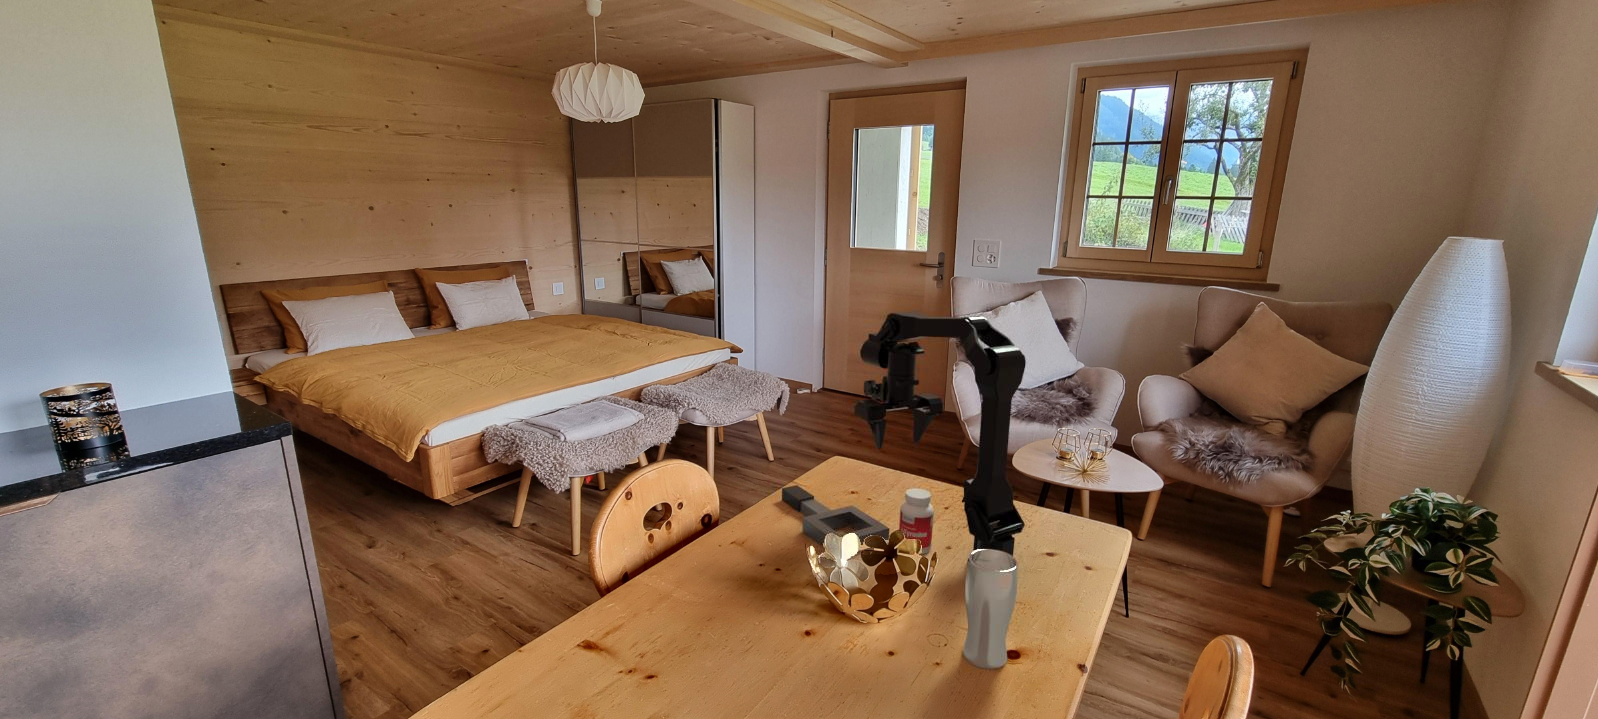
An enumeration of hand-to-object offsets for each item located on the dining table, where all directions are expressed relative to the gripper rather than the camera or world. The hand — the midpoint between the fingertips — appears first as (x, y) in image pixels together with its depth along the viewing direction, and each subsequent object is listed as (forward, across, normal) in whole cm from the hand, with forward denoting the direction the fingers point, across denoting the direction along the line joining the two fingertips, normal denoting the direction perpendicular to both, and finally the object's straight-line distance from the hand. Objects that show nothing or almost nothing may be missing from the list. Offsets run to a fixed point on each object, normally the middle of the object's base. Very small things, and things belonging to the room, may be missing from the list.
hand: (897, 446), depth 144 cm
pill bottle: (+15, +6, +16) cm, 22 cm away
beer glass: (+15, +17, +47) cm, 52 cm away
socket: (+14, +17, -1) cm, 22 cm away
